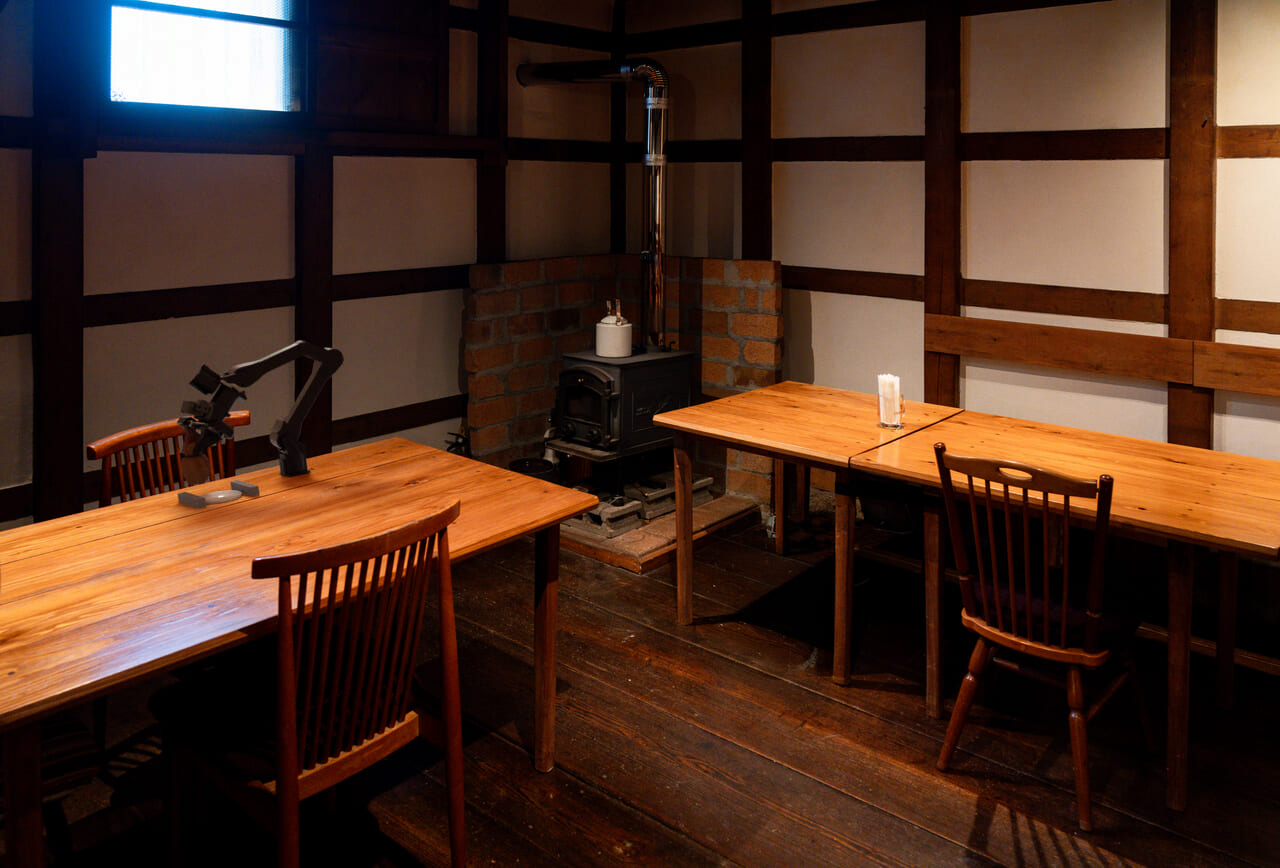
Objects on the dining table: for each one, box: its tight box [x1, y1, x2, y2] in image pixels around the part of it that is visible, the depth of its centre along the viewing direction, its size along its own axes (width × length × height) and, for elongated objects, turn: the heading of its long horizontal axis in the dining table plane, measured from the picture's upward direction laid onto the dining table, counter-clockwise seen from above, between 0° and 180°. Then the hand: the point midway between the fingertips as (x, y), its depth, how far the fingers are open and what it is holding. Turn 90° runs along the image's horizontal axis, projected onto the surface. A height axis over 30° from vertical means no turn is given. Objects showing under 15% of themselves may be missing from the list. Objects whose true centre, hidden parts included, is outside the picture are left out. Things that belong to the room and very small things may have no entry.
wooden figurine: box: [180, 426, 211, 485], centre depth 259 cm, size 7×6×15 cm
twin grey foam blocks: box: [176, 479, 260, 510], centre depth 255 cm, size 16×12×2 cm
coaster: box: [199, 489, 243, 505], centre depth 255 cm, size 11×11×1 cm
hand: (188, 454), depth 258 cm, fingers closed on wooden figurine, 5 cm apart
